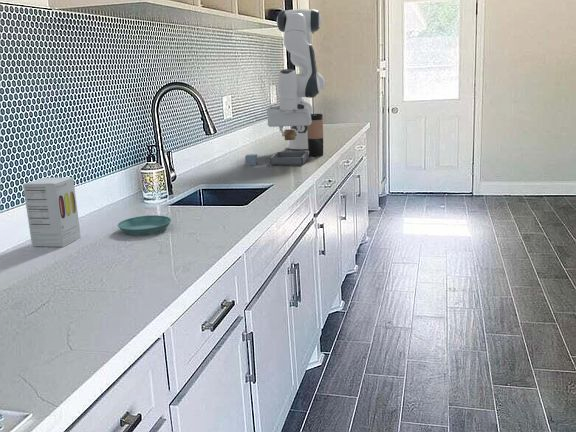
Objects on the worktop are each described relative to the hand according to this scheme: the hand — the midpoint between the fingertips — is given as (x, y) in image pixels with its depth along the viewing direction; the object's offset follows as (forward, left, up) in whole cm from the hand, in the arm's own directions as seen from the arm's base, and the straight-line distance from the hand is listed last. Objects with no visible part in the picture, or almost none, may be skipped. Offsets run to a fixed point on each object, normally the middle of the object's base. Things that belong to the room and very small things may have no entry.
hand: (290, 136), depth 271 cm
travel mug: (-16, +10, -12) cm, 22 cm away
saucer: (+118, -23, -12) cm, 121 cm away
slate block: (+8, -17, -12) cm, 22 cm away
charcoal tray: (+3, 0, -12) cm, 12 cm away
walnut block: (0, 0, -2) cm, 2 cm away
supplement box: (+130, -43, -12) cm, 138 cm away
